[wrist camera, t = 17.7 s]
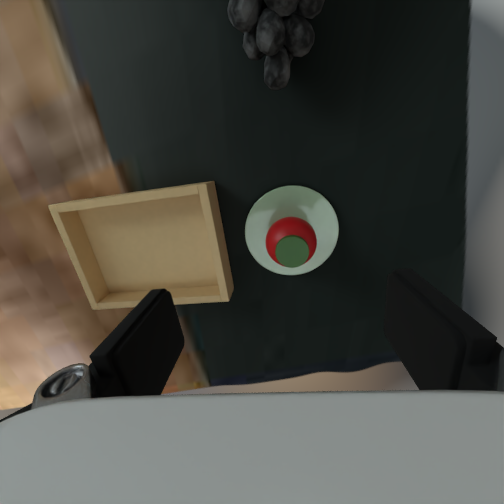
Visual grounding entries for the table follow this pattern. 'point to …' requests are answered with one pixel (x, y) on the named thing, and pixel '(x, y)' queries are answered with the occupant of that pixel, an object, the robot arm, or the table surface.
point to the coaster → (291, 205)
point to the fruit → (275, 33)
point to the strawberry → (291, 242)
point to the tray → (148, 245)
